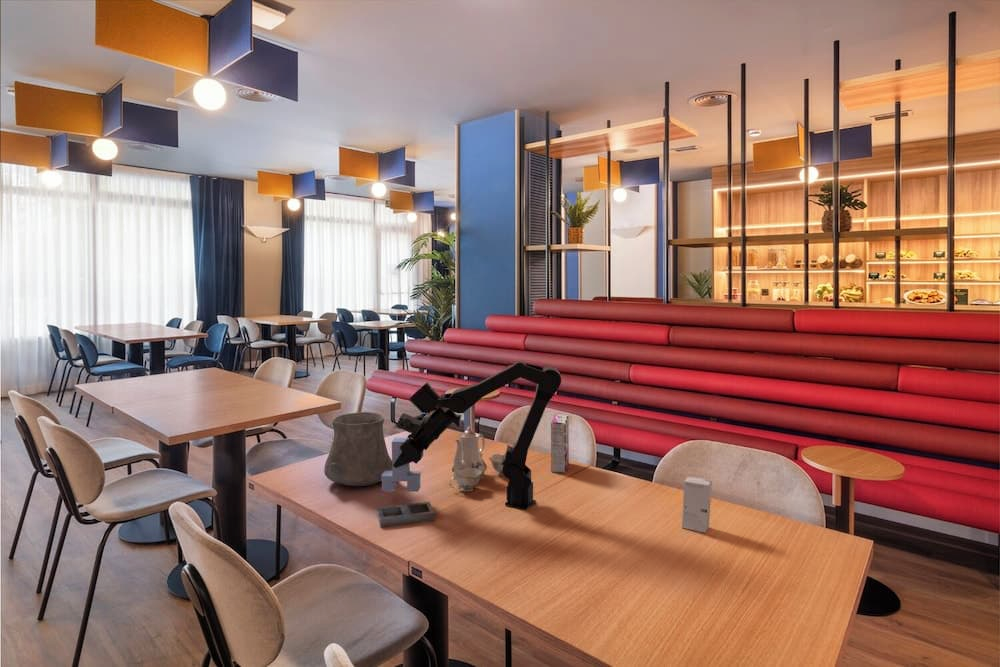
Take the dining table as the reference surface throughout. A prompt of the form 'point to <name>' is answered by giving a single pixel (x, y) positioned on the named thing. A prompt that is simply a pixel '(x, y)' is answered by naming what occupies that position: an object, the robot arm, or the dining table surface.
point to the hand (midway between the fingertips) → (396, 464)
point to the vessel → (358, 450)
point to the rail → (405, 514)
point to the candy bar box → (559, 443)
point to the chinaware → (471, 461)
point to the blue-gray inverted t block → (400, 471)
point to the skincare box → (696, 504)
